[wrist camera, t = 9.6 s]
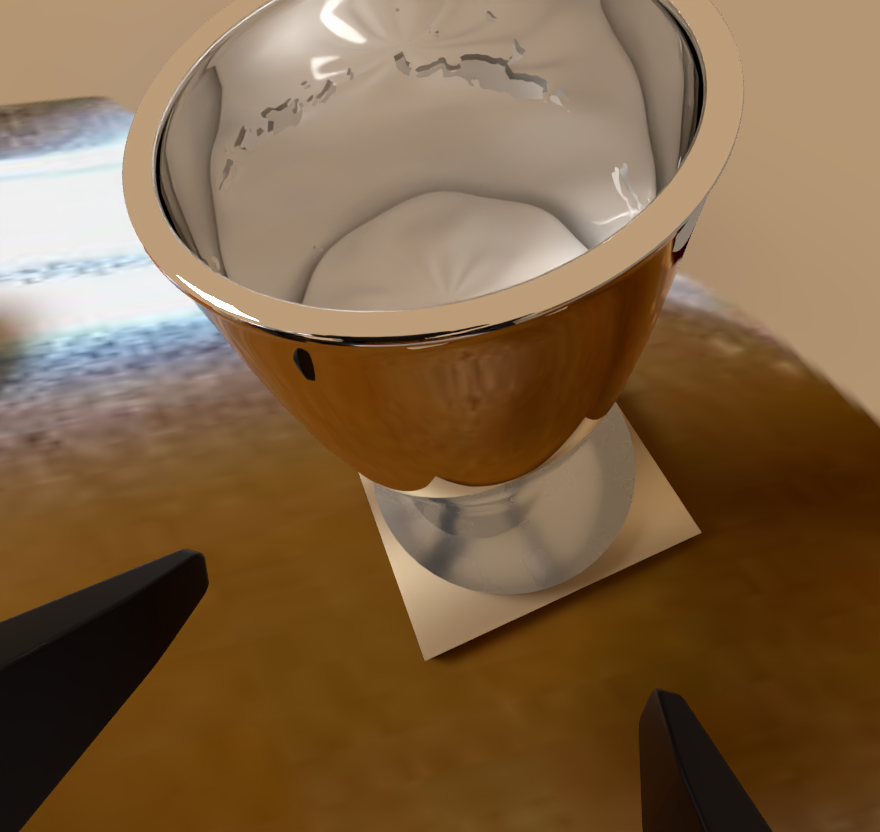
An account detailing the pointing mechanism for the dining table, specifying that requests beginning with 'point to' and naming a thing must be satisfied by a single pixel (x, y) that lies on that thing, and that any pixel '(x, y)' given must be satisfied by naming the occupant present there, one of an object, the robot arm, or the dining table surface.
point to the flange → (533, 523)
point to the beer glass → (437, 218)
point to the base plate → (474, 613)
